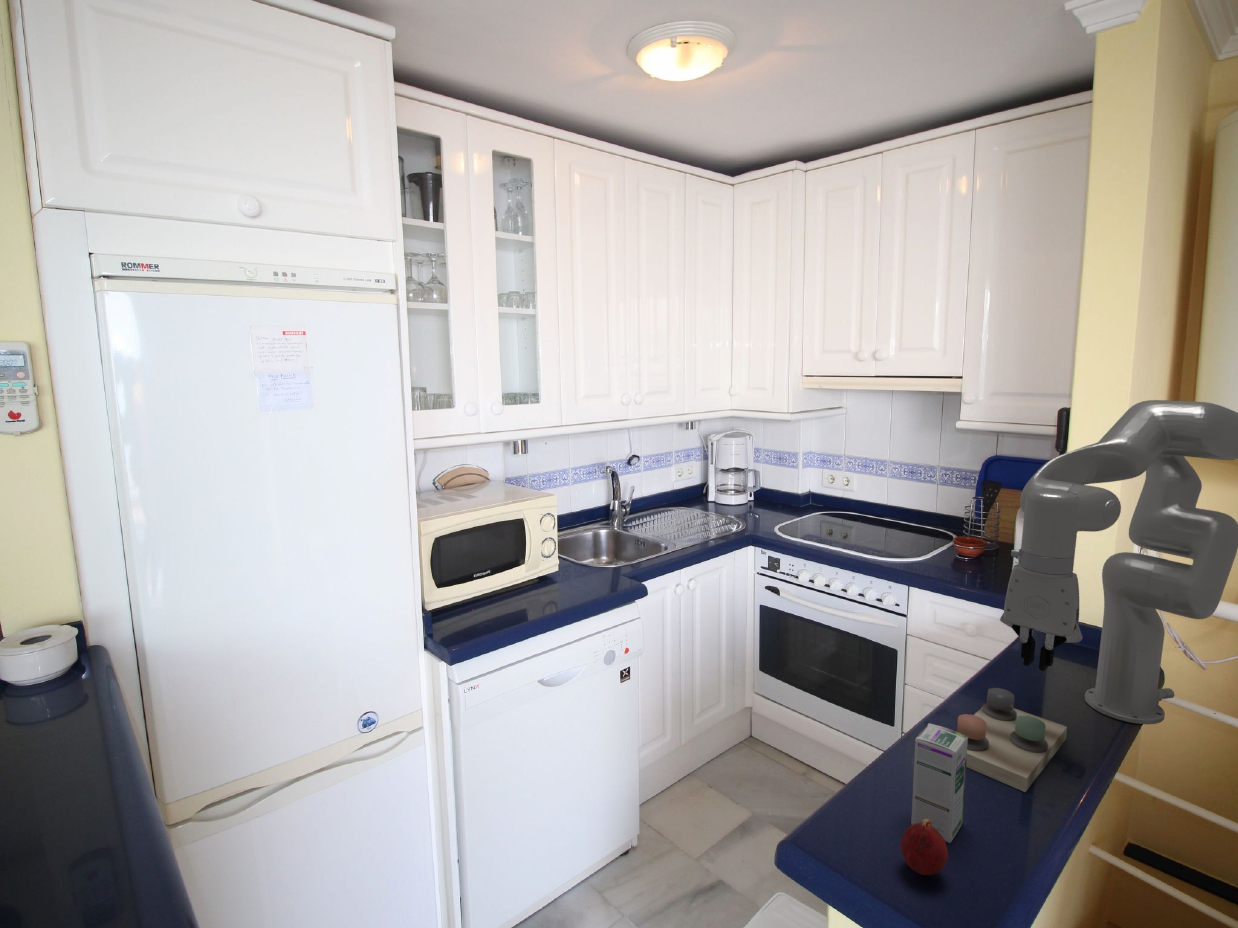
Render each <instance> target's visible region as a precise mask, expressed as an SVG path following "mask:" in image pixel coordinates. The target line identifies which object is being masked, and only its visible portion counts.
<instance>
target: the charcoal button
mask: <svg viewBox="0 0 1238 928" xmlns="http://www.w3.org/2000/svg"><path fill="white" fill-rule="evenodd" d="M1015 697H1016V696H1015V694H1013V692H1011V691H1009V690H1008V689H1004V688H1002V687H1001V688H999V687H990V688H988V689H987V696H986V703H988V704H989V705H990V706H991V707H993V708H996V709H999V710H1005V711H1008V710H1012V709H1013V708H1014V706H1015Z"/></svg>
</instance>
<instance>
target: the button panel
mask: <svg viewBox="0 0 1238 928" xmlns="http://www.w3.org/2000/svg"><path fill="white" fill-rule="evenodd" d="M973 715H974V716H977V717H980V718H982V719H983V720H984V721H985V722H986V724H987V725H986V736H985V738H984V739H981V740H974V739H969V738H968V744H967V760H966V769H967V768H968V769H970V770H973V771H975V772H976V773H979V774H982V775H983V776H987V777H989V778H991V779H994V780H995V781H998V782H1001V783H1003V784H1005V785H1008V786H1009V787H1012V788H1015V789H1016V790H1019V791H1022V792H1024V793H1026V792H1028V790H1029V788H1031V786H1032V785H1033V783H1034V782H1036V779H1037V778H1038V777H1039V776H1040V774H1041V772H1042V771H1043V770H1044V769H1045V768H1046V766H1047V765H1048V763H1050V761H1051V760H1052V758H1053V757H1054V756H1055V754H1056V753H1057V752H1058V750H1059V749H1060V748H1061V747H1062V746H1063V744H1064V743H1065V741H1066V740H1067V731H1068V727H1067V726H1066V725H1063V724H1061V723H1057V722H1055V721H1052V720H1049V719H1046V718H1043V717H1040V716H1037V715H1034V714H1031V713H1029V712H1026V711H1023V710H1020V709H1017V708H1013V709H1012V710H1008V711H1005V710H999V709H996V708H993V707H991V706H990V705H989V704H988V703H987V702H984V703H983V704H982V707H981V708H980V709H979V710H978V711H976V712H975V713H974V714H973ZM1018 716H1031V717H1034V718H1037V719H1039V720H1041V721H1042V722H1044V723H1045V725H1046V728H1045V738H1044V740H1042V741H1031V740H1027V739H1024V738H1022V737H1020V736H1019V735H1017V734H1016V732H1015V723H1016V717H1018ZM955 731H956V732H958V731H957V729H956V730H955ZM958 733H959V732H958Z"/></svg>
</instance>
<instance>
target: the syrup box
mask: <svg viewBox="0 0 1238 928" xmlns="http://www.w3.org/2000/svg"><path fill="white" fill-rule="evenodd" d="M914 743H915V744H914V745H915V746H914V759H913V761H914V762H913V776H912V778H913V781H912V800H911V801H912V803H911V819H910V820H911V821H910V822H911V823H910V826H911V825H913V824H916V823H921V822H922V821H923V819H929V820H930V821H931V822H932V825H931V826H932V827H934V828H935V829H936V830H937V831H938V832H939V833H940V834H941V835H942V837H943V838H944V840H945V843H948V844H951V843H952V842H953V840H954V839H955V837H956V835H957V834H958V832H959V830H960V828H961V827H962V825H963V823H964V807H965V805H964V804H965V793H966V792H965V791H966V790H965V789H966V774H967V767H966V760H967V744H968V737H967V736H965V735H963V734H961V733H958V732H956V730H953V729H950V728H949V727H944V726H941V725H937V724H933V723H930V722H928V724H927V725H926V726H925V728H923V729H922V730H921V732H920V733H919V734H918V736H916V738H915V740H914Z"/></svg>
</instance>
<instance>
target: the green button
mask: <svg viewBox="0 0 1238 928" xmlns="http://www.w3.org/2000/svg"><path fill="white" fill-rule="evenodd" d="M1045 728H1046V725H1045V723H1044V722H1042V721H1041V720H1039V719H1037V718H1034V717H1031V716H1018V717H1016V723H1015V732H1016V734H1017V735H1019V736H1020V737H1022V738H1024V739H1027V740H1031V741H1042V740H1044V738H1045Z"/></svg>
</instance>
